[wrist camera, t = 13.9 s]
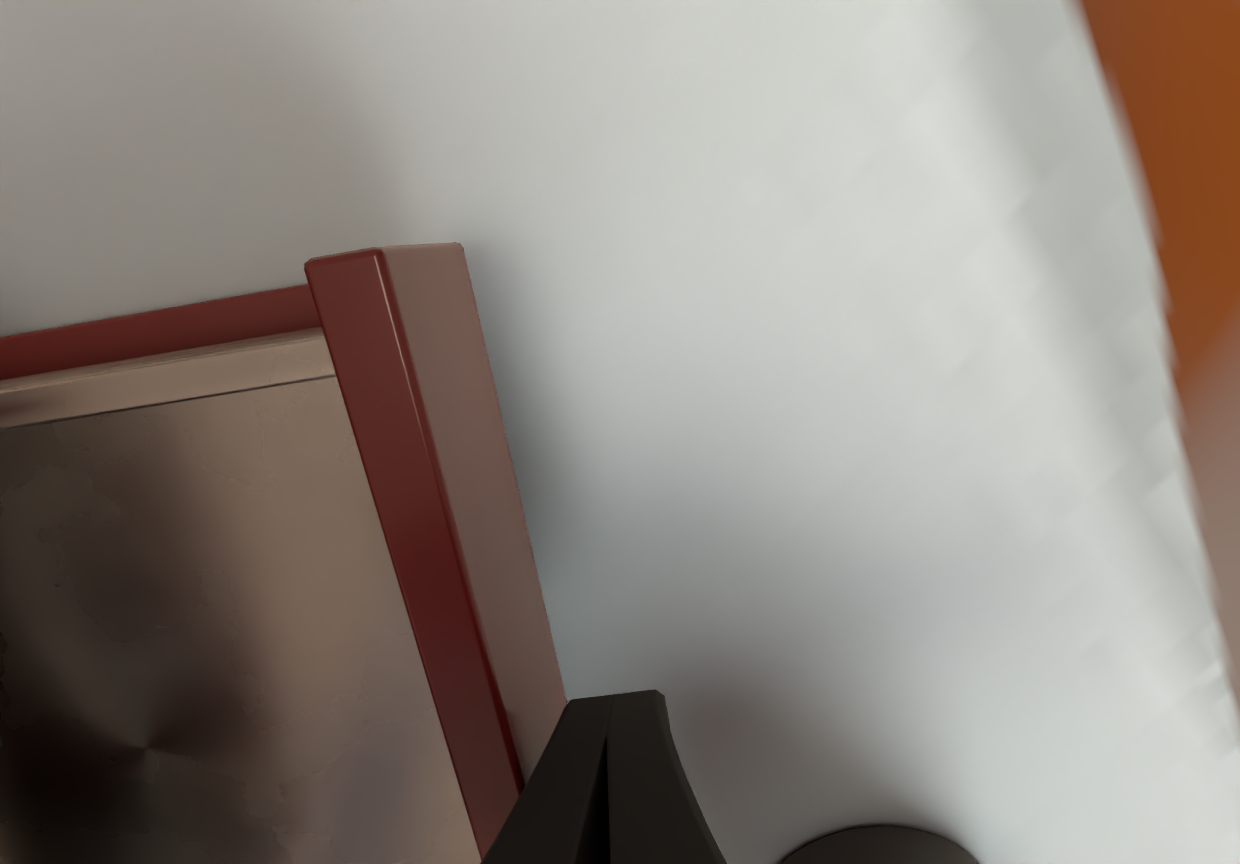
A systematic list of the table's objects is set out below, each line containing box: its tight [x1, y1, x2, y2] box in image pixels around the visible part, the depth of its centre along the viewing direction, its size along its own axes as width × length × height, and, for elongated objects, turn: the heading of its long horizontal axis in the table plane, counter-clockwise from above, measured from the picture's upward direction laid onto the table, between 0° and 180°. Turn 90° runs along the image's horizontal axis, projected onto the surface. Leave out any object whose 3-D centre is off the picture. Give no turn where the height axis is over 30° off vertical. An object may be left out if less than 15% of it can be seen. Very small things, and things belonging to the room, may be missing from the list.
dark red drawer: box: [0, 242, 567, 864], centre depth 10 cm, size 13×14×3 cm
